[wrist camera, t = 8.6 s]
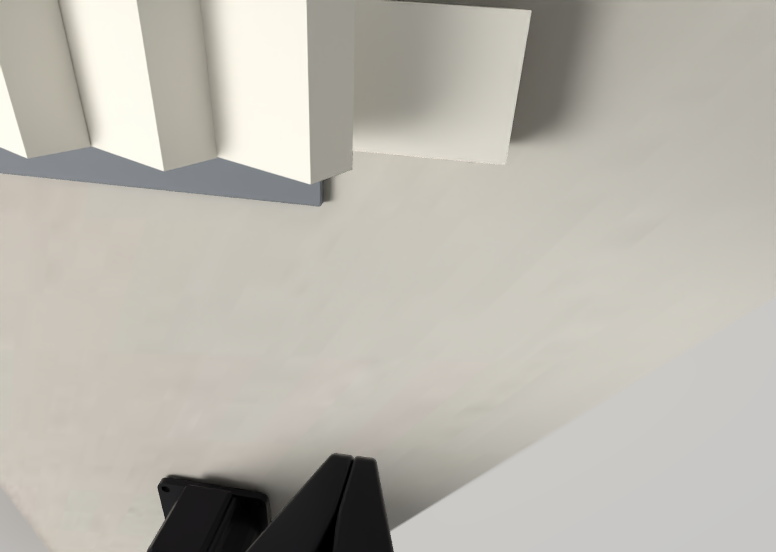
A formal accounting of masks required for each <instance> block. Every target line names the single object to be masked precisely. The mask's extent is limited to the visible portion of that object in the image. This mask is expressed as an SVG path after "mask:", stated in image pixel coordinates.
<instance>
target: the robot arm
mask: <svg viewBox="0 0 776 552" xmlns="http://www.w3.org/2000/svg"><path fill="white" fill-rule="evenodd" d="M158 492H159V496H160V500H161V504H162V508H163V512H164V516H165V521H164V523H163V524H162V526H161V528H160V529H159V531H158V533H157V534H156V536H155V538H154V540H153V541H152V543H151V545H150V546H149V548H148V550H147V552H394V551H393V546H392V541H391V535H390V530H389V525H388V519H387V514H386V509H385V504H384V498H383V493H382V488H381V483H380V477H379V472H378V467H377V462H376V460H375V459H374V458H368V457H361V456H357V457H355V458H353V456H351V455H346V454H338V453H334V454H332V455H330V456H329V458H328V459H327V460H326V461H325V462H324V463H323V464H322V465H321V467H320V468H319V469H318V470H317V471H316V472H315V473H314V475H313V476H312V477H311V478H310V479H309V480H308V481H307V483H306V484H305V485H304V486H303V487H302V488H301V489H300V490H299V492H298V493H297V494H296V495H295V496H294V497H293V498H292V500H291V501H290V502H289V503H288V504H287V505H286V506H285V508H284V509H283V510H282V511H281V512H280V513H279V514H278V515H277V517H276V518H275V519H274V520H273V521H272V522H271V519H270V507H269V499H268V497H267V496H266V495H265V494H263V493H259V492H253V491H247V490H241V489H235V488H229V487H222V486H216V485H210V484H204V483H198V482H192V481H185V480H179V479H173V478H163V479H162V480H161V481H160V483H159V484H158Z"/></svg>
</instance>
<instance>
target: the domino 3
mask: <svg viewBox="0 0 776 552" xmlns="http://www.w3.org/2000/svg"><path fill="white" fill-rule="evenodd" d="M200 5H201V14H202V23H203V33H204V42H205V51H206V60H207V69H208V79H209V88H210V97H211V106H212V116H213V125H214V134H215V143H216V152H217V157H219V158H223V159H226V160H229V161H233V162H236V163H239V164H243V165H246V166H250V167H253V168H256V169H260V170H263V171H266V172H270V173H273V174H277V175H280V176H283V177H287V178H290V179H294V180H297V181H300V182H304V183H307V184H310V185H311V184H314V183H316V182H319V181H322V180H325V179H328V178H330V177H333V176H336V175H339V174H341V173H344V172H347V171H350V170H352V156H353V99H354V42H355V0H200Z"/></svg>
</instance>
